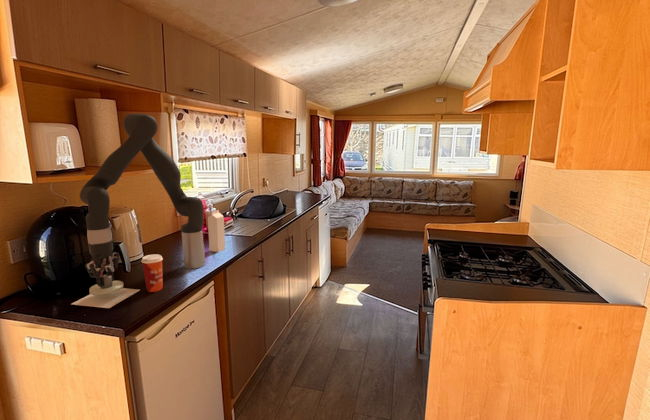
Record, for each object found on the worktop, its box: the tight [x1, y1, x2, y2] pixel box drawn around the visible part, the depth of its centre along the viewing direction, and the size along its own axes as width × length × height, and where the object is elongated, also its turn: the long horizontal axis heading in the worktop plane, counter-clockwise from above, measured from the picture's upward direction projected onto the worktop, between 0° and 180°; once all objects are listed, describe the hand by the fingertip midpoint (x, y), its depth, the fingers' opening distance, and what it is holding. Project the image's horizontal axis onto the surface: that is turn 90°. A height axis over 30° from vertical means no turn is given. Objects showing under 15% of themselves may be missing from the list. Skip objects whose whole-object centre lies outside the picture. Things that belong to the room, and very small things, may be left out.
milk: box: [207, 209, 226, 253], centre depth 191 cm, size 6×6×22 cm
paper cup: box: [140, 253, 164, 293], centre depth 139 cm, size 8×8×14 cm
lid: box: [88, 273, 124, 295], centre depth 132 cm, size 11×11×5 cm
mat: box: [71, 287, 141, 309], centre depth 133 cm, size 16×16×1 cm
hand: (106, 283), depth 132 cm, fingers closed on lid, 4 cm apart
